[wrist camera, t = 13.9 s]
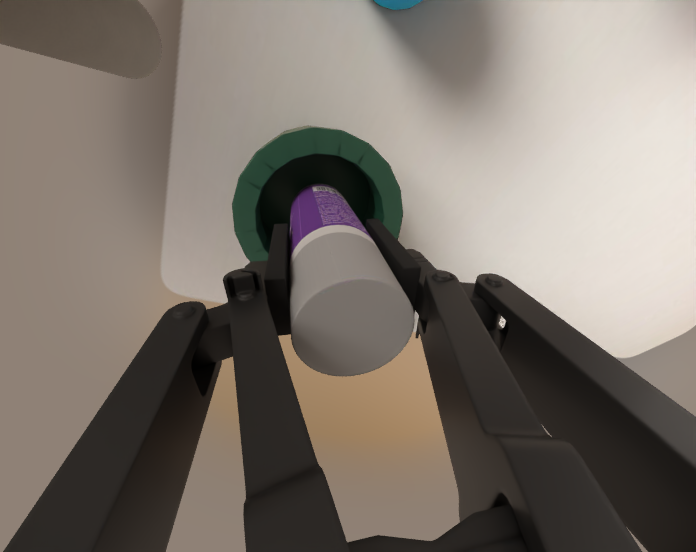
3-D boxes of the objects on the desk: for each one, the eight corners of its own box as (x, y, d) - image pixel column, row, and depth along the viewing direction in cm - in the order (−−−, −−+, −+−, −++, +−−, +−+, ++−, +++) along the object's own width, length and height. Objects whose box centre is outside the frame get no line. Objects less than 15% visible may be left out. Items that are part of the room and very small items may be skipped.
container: (278, 204, 22) (257, 325, 9) (327, 170, 21) (382, 246, 8) (312, 249, 24) (334, 396, 11) (357, 219, 23) (436, 339, 10)
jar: (225, 203, 26) (197, 236, 19) (302, 92, 23) (307, 77, 16) (322, 269, 32) (331, 317, 24) (395, 187, 29) (433, 211, 21)
